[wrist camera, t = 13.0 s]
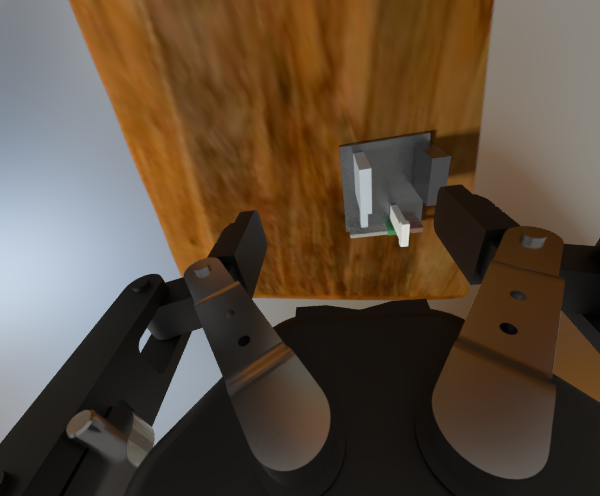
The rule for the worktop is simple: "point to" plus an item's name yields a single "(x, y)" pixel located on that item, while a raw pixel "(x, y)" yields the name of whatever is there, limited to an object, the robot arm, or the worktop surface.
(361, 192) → the block
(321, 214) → the worktop surface
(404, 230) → the bar
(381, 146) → the stand
